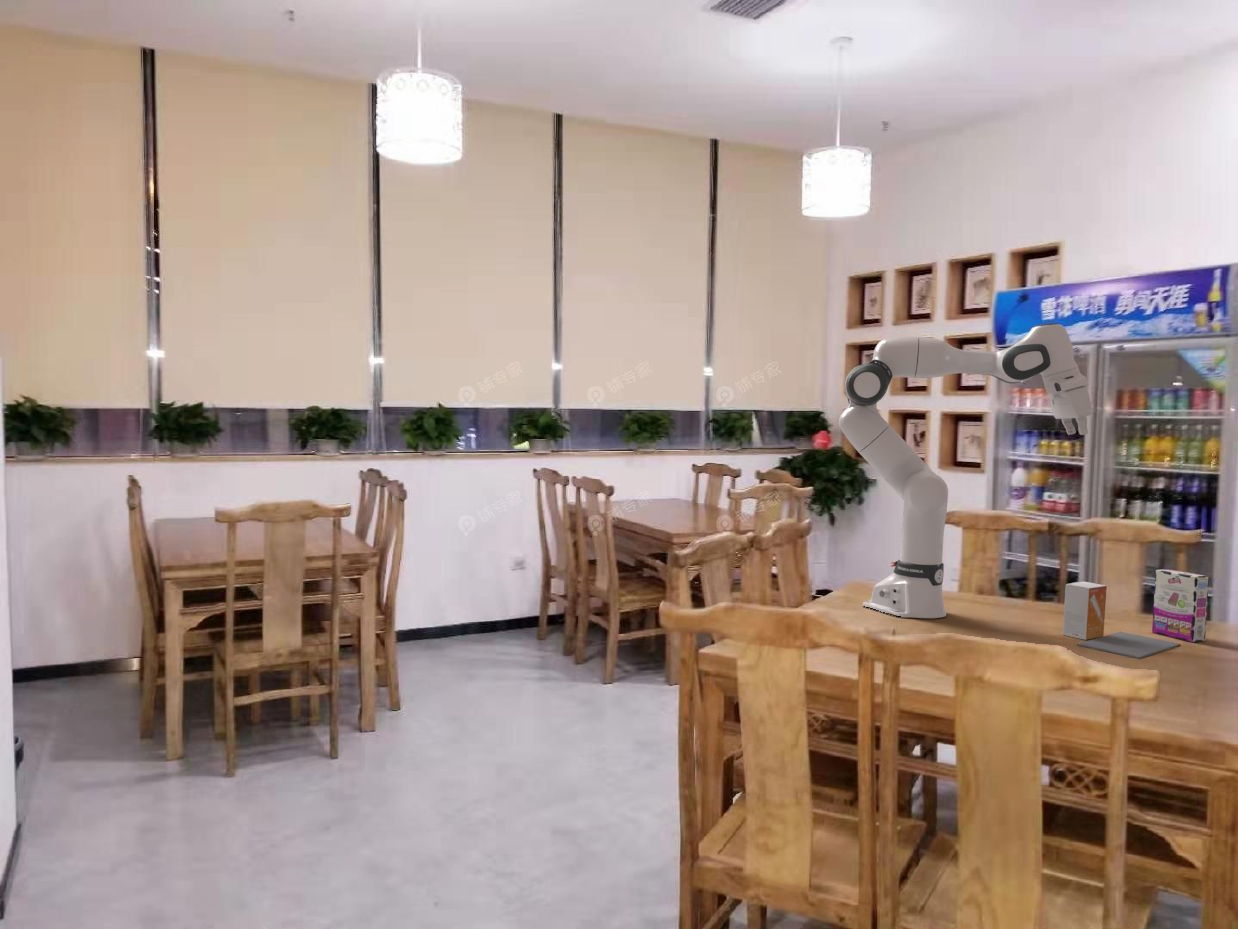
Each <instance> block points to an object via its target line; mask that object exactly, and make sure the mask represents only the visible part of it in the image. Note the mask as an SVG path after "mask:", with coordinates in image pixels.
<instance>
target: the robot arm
mask: <svg viewBox="0 0 1238 929" xmlns="http://www.w3.org/2000/svg"><path fill="white" fill-rule="evenodd" d="M1074 355H1075V354H1074V347H1073V343H1072V340H1071V339H1070V336H1069V334H1068V331H1067V330H1066V327H1065V326H1064V325H1063V324H1060V323H1058V322H1049V323H1043V324H1038V325H1035V326H1033V327H1032V328H1031V329H1030V331H1028V332H1027V334H1025V336H1023V337H1022V338H1021V339H1020V340H1019V341H1017V342H1016V343H1015V344H1013V345H1012V346H1009V347H1004V348H1002V349H1000V350H996V351H980V350H967V349H966V350H965V349H960V348H957V347H954V346H953V345H951V344H949V343H948V342H946V341H945V340H941V339H938V338H933V337H925V336H897V337H896V336H895V337H889V338H888V337H887V338H884V339H881V340H880V341H879V342H878V343H877V344H876V346H875V347H874V350H873V356H872V359H871V360H869V361H868V362H866V363H863V364H860V365H857V366H855V367H854V368H851V370H850V371H849V372H848V374H846V376H845V380H844V390H845V394H846V397H847V402H848V406H846V408H845V409H844V410H843V411H842V413H841V414H840V416H839V419H838V427H839V429H840V430H841V431H842V433H843V435H844V436H845V438H846V439H847V440H848V442H849V444H851V445H852V446H853V448H854V449H855V450H856V451H857V452H858V453H859V455H860V456H861V457H862V458H864V460H865V461H866V462H867V463H868V464H869V465H870V466H871V467H872V468H873V470H875V471H876V473H878V474H879V476H880V477H881V478H883V480H884V481H885V482H886V483H887V484H888V485H889V486H890V487H891V489H893V490H894V491H895V492H896V493H897V494H898V496H900V498H901V499H902V500H903V509H902V510H903V512H902V519H901V520H902V522H901V529H900V544H899V545H900V548H899V559H897V561H892V562H891V564H892V565H890V567H892V568H893V567H894V569H893V572H892V573H891V574H889V575H888V576H887V577H885V578H884V579H882V580H880V581H879V582H877V583H875V585H874V586H873V589H872V592H871V599H868V600H866V601H863V602H862V607H863V606H865V607H864V608H866V607H870V608H873V609H876V610H879V611H878V612H880V611H881V613H883V612H885V613H884V614H886V613H891V614H894V615H897V616H901V617H900V618H915V619H916V618H917V619H938V618H944V617H946V616H947V612H946V608H945V603H944V596H943V595H944V594H943V581H944V575H945V574H944V571H945V566H944V565H945V564H944V563H943V555H944V554H943V553H944V551H943V550H944V535H945V526H946V520H947V519H946V518H947V511H948V503H949V501H948V499H949V488H948V485H947V482H945V480H944V479H943V478H942V477H941V476H940V475H938V474H936V473H935V472H934V471H933V470H932V469H931V468H930V466H929V465H928V464H927V463H926V462H925V461H924V460H922V458H921V457H920V456H919V455H918V453H917V452H916V451H915V450H914V449H913V448H912V447H911V446H910V444H908V442H906V441H905V439H903V437H902V436H901V435H900V434H899V433H898V432H897V430H895V429H894V428H893V427H892V426H891V425H890V424H889V423H888V422H887V420H886V419H884V418H883V416H882V415H881V414H880V412H879V410H878V408H877V404H878V402H880V401H881V400H882V399H883V398H884V397H885V395H886V393H887V391H888V388H889V387H890V384H891V381H892V380H893V379H897V378H909V379H935V378H939V377H940V378H941V377H945V376H949V375H954V374H968V375H970V374H971V375H981V376H982V375H983V376H984V375H985V376H992V377H994V378H996V379H998V380H1000V381H1002V382H1004V383H1007V384H1019V383H1022V382H1024V381H1029V380H1030V379H1032V378H1033V377H1035V376H1037V375H1038V374H1040V376H1041V378H1042V382H1043V386H1044V389H1045V392H1046V395H1049V397H1048V398H1049V402H1050V406H1051V407H1050V408H1051V411H1052V414H1053V417H1054V418H1055V419H1056V420H1061V423H1062V424H1063V427H1064V428H1065V431H1066V433H1067V435H1068V436H1070V435H1075V434H1076V433H1077V431H1078V434H1079V435H1080V436H1084V435H1088V434H1089V430H1088V419H1087V417H1089V416H1092V414H1093V413H1092V412H1093V408H1092V402H1091V398H1090V394H1089V390H1088V388H1087V386H1088V385H1089V383H1088V379H1087V377H1086V376H1084V375H1083V374H1082V373H1081V372H1080V368H1079V365H1078V364H1077V362H1076V361H1075V357H1074ZM1073 419H1075V421H1076V423H1077V427H1078V428H1077V430H1076V427H1075V426H1074V424H1073V422H1072V421H1073ZM870 608H869V609H870ZM873 609H872V610H873ZM876 610H875V611H876Z"/></svg>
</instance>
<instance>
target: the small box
mask: <svg viewBox="0 0 1238 929" xmlns="http://www.w3.org/2000/svg"><path fill="white" fill-rule="evenodd" d="M1107 588H1108V586H1107V585H1106V584H1105V585H1104V584H1100V583H1099V584H1098V583H1094V582H1090V581H1089V582H1088V581H1079V582H1078V581H1075V582H1071V583H1066V584H1065V589H1064V604H1063V623H1062V624H1063V625H1062V635H1063V636H1067V637H1071V638H1075V639H1079V640H1085V641H1089V640H1093V639H1096V638H1100V637H1103V636H1105V635H1104V633H1105V632H1104V631H1105V630H1104V629H1105V615H1106V600H1107Z"/></svg>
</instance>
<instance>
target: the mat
mask: <svg viewBox="0 0 1238 929" xmlns="http://www.w3.org/2000/svg"><path fill="white" fill-rule="evenodd" d="M1077 646H1078V647H1083V648H1087V649H1093V650H1097V651H1101V652H1105V651H1106V653H1110V654H1115V655H1120V656H1124V657H1128V658H1134V659H1137V660H1138V659H1139V660H1140V659H1142V658H1146V657H1148V656H1151V655H1155V654H1157V653H1161V652H1165V651H1167V650H1170V649H1173V648H1176V647H1179V646H1181V643H1180V642H1173V641H1168V640H1163V639H1158V638H1153V637H1147V636H1143V635H1139V634H1134V633H1129V632H1123V631H1118V632H1115V633H1114V632H1113V633H1111V634H1108V635H1103V637H1097V638H1092V639H1088V640H1085V641H1082V642H1079V643H1077Z"/></svg>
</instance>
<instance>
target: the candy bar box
mask: <svg viewBox="0 0 1238 929" xmlns="http://www.w3.org/2000/svg"><path fill="white" fill-rule="evenodd" d="M1154 575H1155V576H1154V579H1155V580H1154V591H1153V592H1154V596H1153V609H1152V610H1153V611H1152V612H1153V613H1152V629H1151V633H1152V634H1153V633H1154V634H1156V635H1160V636H1165V637H1168V638H1172V639H1173V638H1174V639H1176V640H1181V641H1184V642H1189V643H1202V642H1206V632H1207V617H1208V616H1207V615H1208V613H1207V612H1208V601H1209V600H1208V598H1209V597H1208V596H1209V584H1210V583H1209V581H1210V576H1209V575H1205V574H1204V575H1203V574H1198V573H1194V572H1187V571H1181V570H1175V569H1169V568H1163V569H1162V568H1161V569H1156V570H1155V574H1154Z"/></svg>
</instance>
